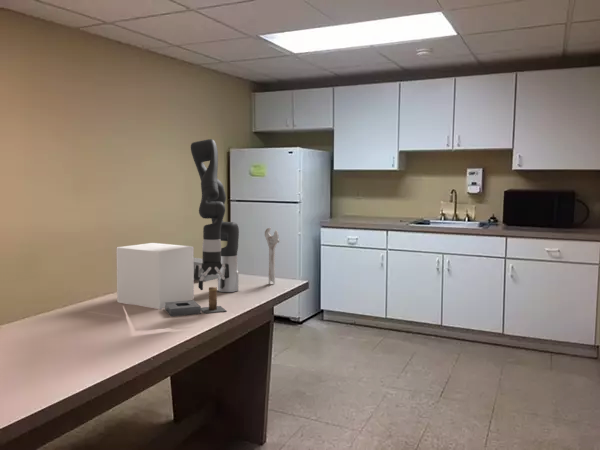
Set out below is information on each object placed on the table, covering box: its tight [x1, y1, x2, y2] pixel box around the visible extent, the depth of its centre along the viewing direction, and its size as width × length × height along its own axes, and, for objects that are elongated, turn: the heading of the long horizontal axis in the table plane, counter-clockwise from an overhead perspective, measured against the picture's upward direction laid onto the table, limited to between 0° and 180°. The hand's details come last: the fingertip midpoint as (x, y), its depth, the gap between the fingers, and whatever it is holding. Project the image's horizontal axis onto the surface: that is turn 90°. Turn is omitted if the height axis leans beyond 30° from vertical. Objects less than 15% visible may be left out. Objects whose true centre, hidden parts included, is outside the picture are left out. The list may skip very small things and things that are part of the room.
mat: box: [201, 305, 227, 315], centre depth 217 cm, size 9×9×1 cm
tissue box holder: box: [194, 257, 218, 283], centre depth 289 cm, size 25×23×11 cm
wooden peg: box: [208, 286, 218, 310], centre depth 216 cm, size 3×3×9 cm
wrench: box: [264, 227, 281, 285], centre depth 267 cm, size 8×2×30 cm, turn 70°
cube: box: [116, 242, 195, 310], centre depth 232 cm, size 25×21×24 cm
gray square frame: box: [164, 299, 202, 317], centre depth 214 cm, size 12×12×3 cm
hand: (211, 289), depth 216 cm, fingers open, 8 cm apart
